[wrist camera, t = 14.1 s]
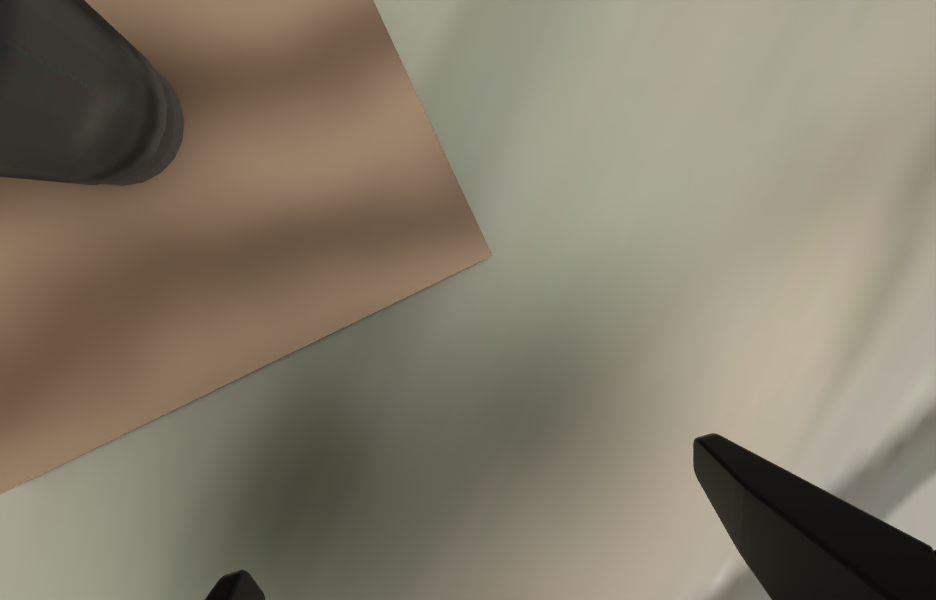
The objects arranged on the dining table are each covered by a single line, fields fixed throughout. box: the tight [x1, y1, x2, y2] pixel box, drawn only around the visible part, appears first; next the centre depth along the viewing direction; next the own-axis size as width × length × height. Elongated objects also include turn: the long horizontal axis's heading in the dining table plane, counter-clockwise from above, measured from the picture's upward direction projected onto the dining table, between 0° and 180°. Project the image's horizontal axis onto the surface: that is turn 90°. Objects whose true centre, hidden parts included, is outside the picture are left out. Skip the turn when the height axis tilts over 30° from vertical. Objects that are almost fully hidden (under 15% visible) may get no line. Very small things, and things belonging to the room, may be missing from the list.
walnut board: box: [0, 0, 492, 494], centre depth 17 cm, size 20×20×1 cm
